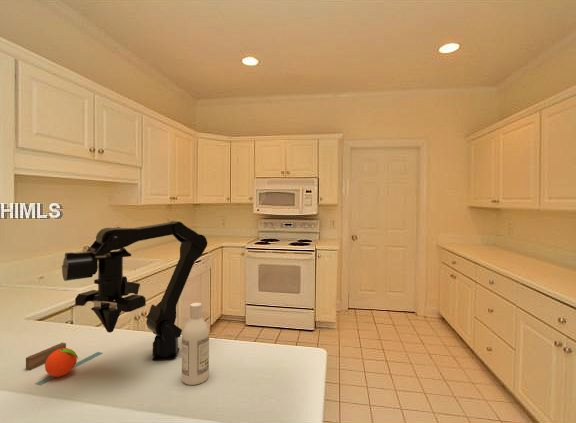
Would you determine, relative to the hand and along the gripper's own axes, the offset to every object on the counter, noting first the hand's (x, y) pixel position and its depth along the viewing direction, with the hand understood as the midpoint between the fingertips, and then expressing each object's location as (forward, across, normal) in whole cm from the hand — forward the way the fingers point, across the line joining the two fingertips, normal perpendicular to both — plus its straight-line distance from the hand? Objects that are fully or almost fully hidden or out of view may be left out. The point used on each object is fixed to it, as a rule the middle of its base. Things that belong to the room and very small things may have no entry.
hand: (110, 331), depth 80 cm
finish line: (+12, +14, 0) cm, 18 cm away
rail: (+12, +24, 0) cm, 27 cm away
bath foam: (+12, -23, -6) cm, 26 cm away
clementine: (+12, +13, +4) cm, 18 cm away
